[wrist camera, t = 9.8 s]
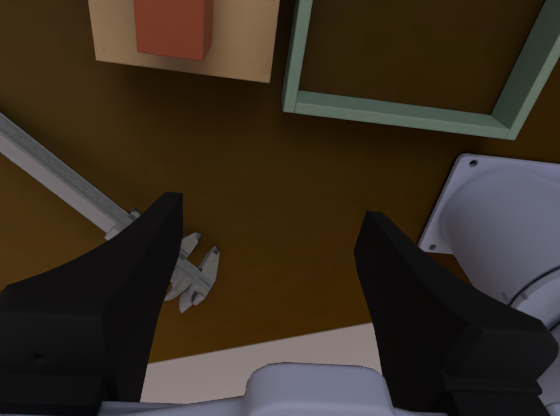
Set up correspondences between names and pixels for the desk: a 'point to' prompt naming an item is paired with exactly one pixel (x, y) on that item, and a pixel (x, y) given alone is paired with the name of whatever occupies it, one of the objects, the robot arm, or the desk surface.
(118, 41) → the l-shaped wooden board
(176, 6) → the white bar red tip
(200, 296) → the caliper
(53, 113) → the desk surface
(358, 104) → the rectangular frame
